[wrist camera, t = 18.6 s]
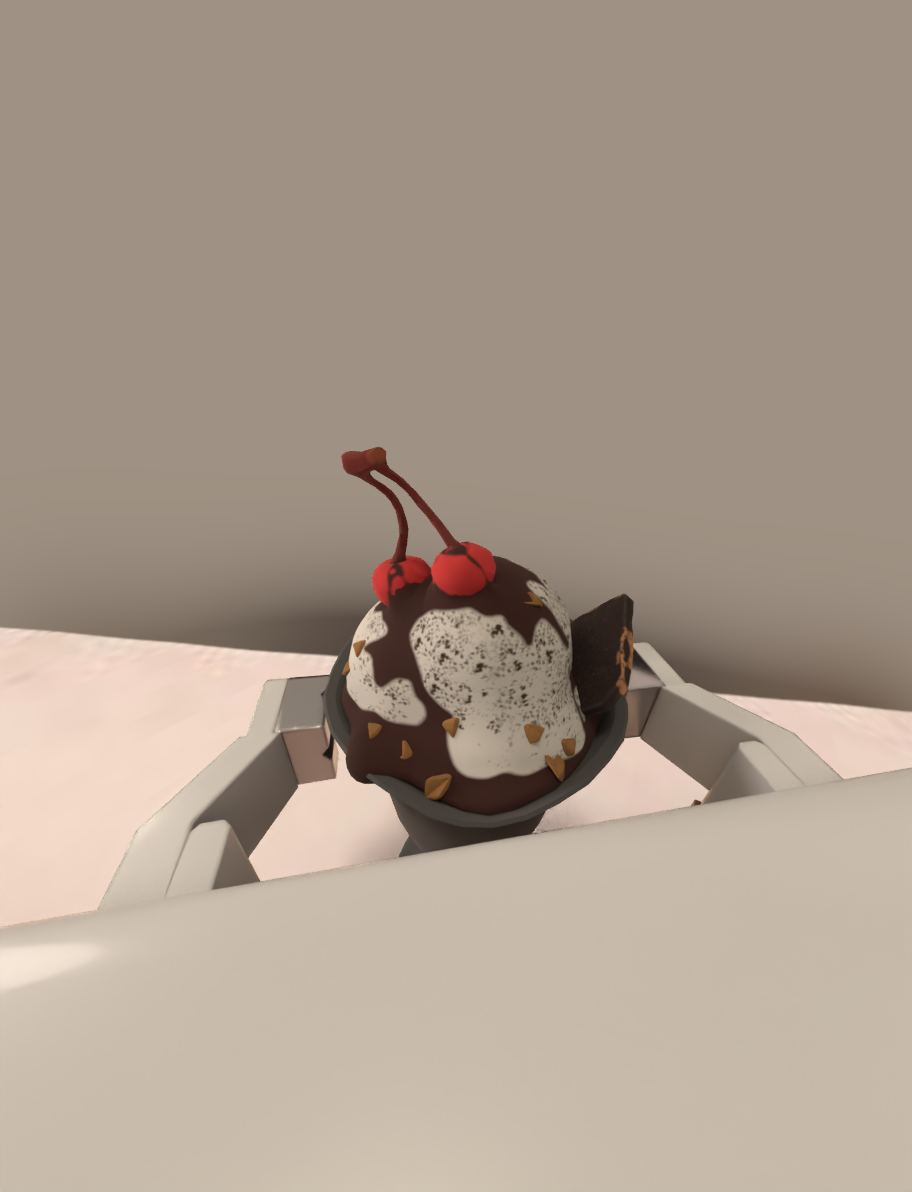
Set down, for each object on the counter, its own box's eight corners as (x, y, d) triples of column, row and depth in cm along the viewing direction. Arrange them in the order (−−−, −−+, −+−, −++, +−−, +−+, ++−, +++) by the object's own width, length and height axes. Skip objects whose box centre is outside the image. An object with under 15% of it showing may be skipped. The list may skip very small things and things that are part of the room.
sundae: (334, 872, 14) (190, 439, 6) (463, 760, 18) (478, 406, 10) (460, 1077, 10) (509, 611, 2) (591, 877, 14) (778, 448, 6)
